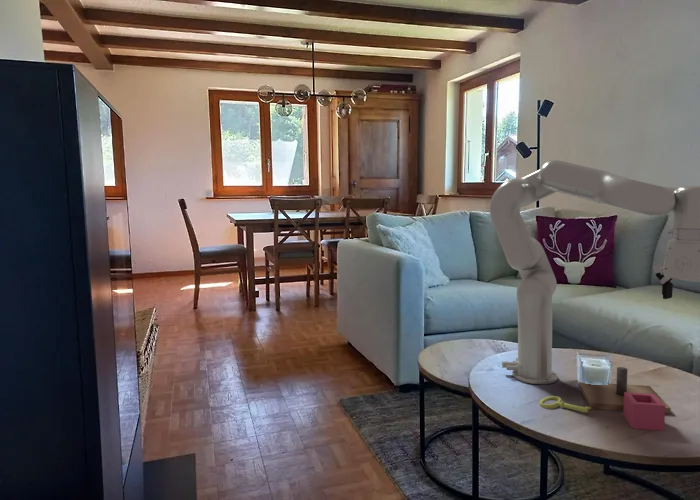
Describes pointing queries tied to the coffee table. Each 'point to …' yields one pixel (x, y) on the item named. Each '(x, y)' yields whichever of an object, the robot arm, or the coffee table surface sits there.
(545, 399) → the key
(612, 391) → the bobbin stand
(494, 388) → the coffee table surface
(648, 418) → the sleeve
